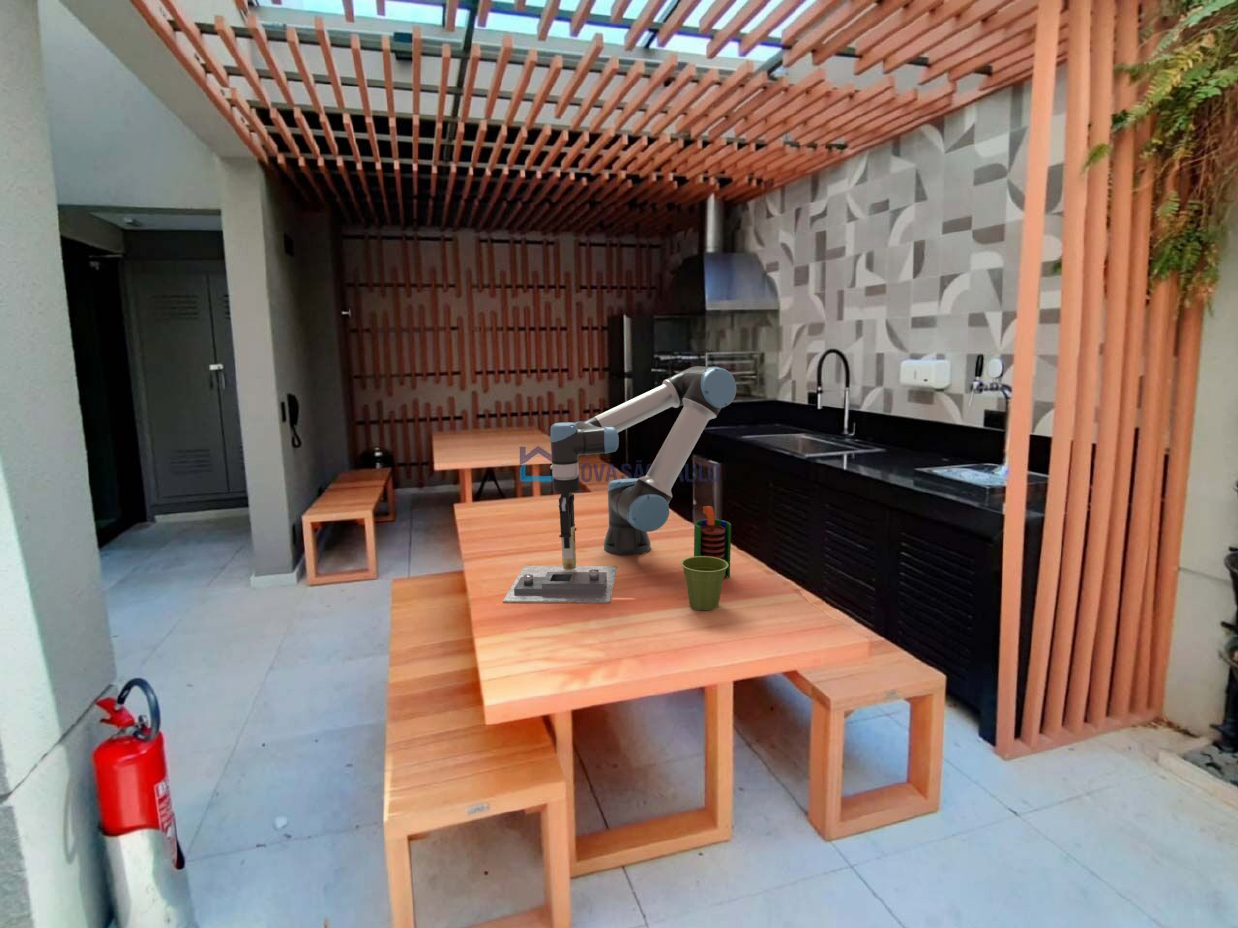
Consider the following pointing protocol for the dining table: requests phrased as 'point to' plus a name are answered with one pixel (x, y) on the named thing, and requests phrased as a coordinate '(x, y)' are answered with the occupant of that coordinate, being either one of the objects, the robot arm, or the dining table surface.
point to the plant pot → (704, 580)
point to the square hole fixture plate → (563, 585)
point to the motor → (713, 538)
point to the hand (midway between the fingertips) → (569, 555)
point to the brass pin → (571, 563)
